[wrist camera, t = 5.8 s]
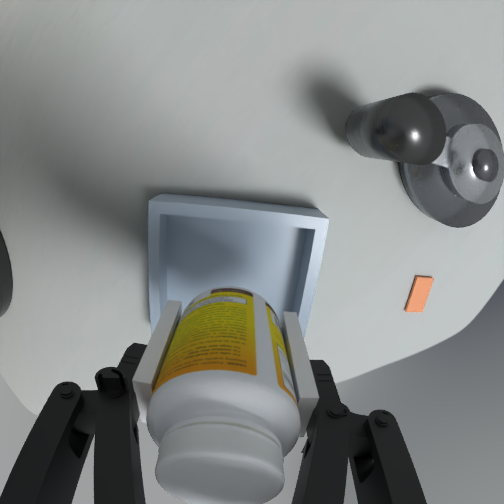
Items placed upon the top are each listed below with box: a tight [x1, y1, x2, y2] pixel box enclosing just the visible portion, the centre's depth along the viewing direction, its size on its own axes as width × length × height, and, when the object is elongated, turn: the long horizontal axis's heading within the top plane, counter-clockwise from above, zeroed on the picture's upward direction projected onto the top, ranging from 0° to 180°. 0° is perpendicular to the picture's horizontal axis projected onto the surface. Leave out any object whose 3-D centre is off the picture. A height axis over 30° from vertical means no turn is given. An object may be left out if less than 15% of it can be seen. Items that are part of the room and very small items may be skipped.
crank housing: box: [399, 93, 502, 228], centre depth 19 cm, size 11×11×2 cm
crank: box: [346, 93, 504, 204], centre depth 15 cm, size 14×6×6 cm, turn 84°
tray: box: [148, 194, 329, 338], centre depth 22 cm, size 12×12×3 cm
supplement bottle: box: [146, 286, 301, 504], centre depth 12 cm, size 6×6×10 cm
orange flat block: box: [405, 276, 434, 312], centre depth 24 cm, size 2×4×1 cm, turn 173°
